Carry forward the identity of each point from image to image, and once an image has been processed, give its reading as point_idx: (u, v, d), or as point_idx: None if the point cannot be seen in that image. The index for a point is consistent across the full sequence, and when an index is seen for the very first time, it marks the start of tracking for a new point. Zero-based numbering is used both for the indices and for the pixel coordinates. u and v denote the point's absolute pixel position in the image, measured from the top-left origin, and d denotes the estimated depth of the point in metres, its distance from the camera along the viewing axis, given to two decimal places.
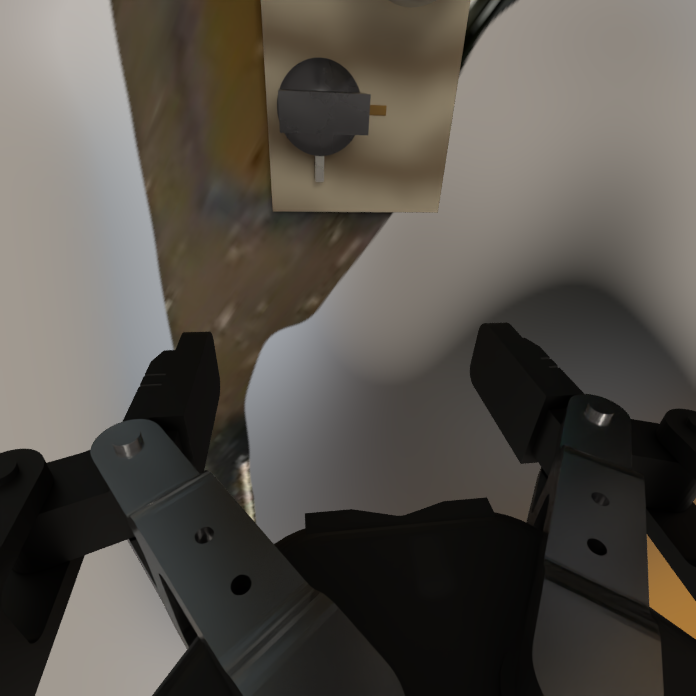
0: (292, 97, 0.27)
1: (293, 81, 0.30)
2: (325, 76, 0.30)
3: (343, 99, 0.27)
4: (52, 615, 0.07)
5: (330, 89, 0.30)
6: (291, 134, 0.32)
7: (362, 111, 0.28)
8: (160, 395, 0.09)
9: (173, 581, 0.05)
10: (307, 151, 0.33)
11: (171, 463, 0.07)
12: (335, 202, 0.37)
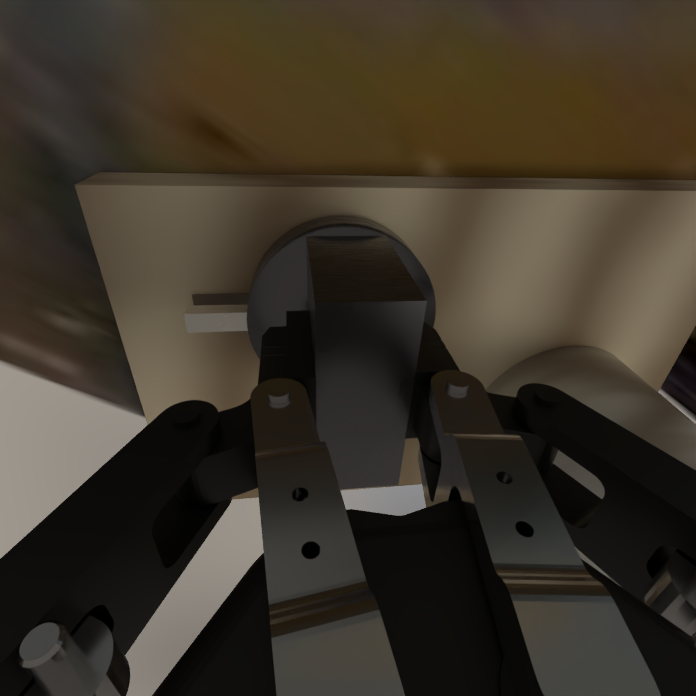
0: (406, 337, 0.09)
1: None
2: None
3: (393, 442, 0.11)
4: (187, 550, 0.08)
5: None
6: (289, 262, 0.13)
7: (365, 476, 0.12)
8: (289, 361, 0.10)
9: (263, 519, 0.06)
10: (253, 298, 0.13)
11: (303, 425, 0.08)
12: (145, 340, 0.15)
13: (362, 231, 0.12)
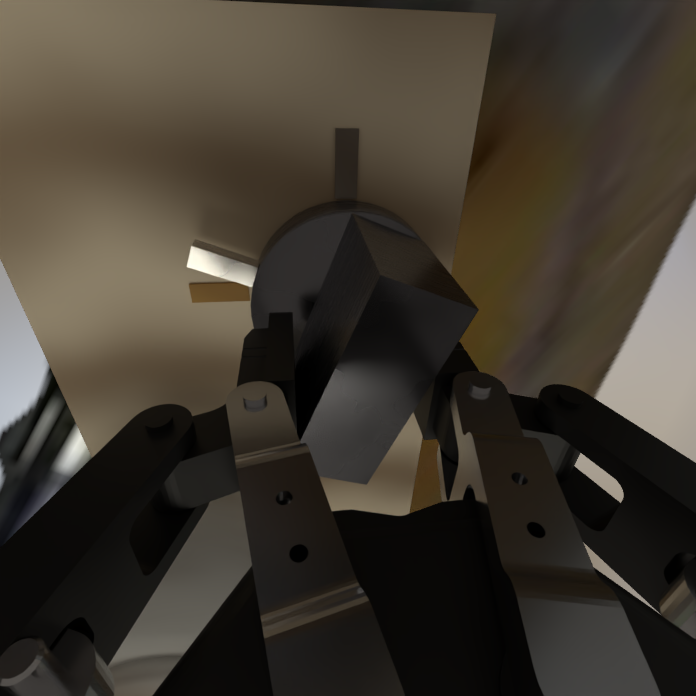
0: (444, 338, 0.09)
1: None
2: None
3: (382, 439, 0.11)
4: (166, 556, 0.08)
5: None
6: (324, 232, 0.12)
7: (340, 468, 0.11)
8: (268, 363, 0.10)
9: (248, 526, 0.06)
10: (273, 256, 0.12)
11: (282, 428, 0.08)
12: (293, 43, 0.11)
13: (405, 228, 0.12)
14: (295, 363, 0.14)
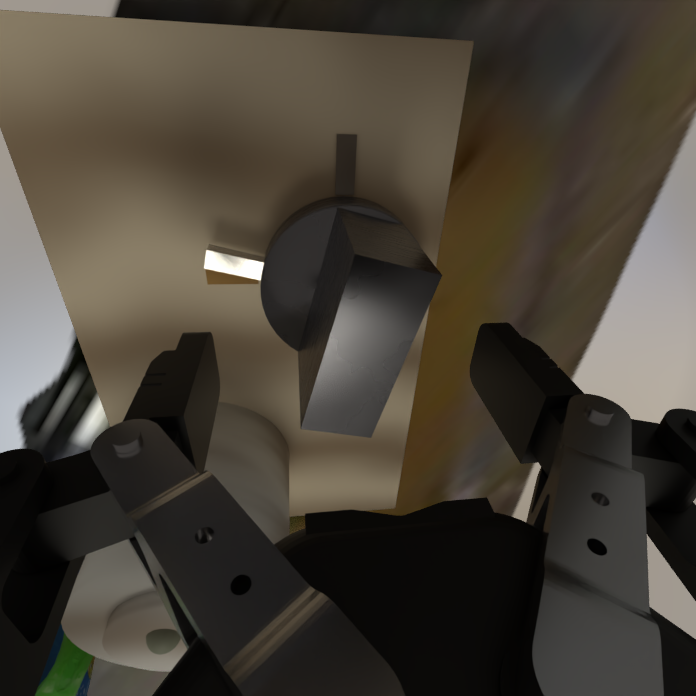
0: (417, 302, 0.11)
1: None
2: None
3: (378, 396, 0.13)
4: (52, 615, 0.07)
5: None
6: (316, 226, 0.14)
7: (346, 423, 0.13)
8: (160, 395, 0.09)
9: (173, 581, 0.05)
10: (275, 251, 0.14)
11: (171, 463, 0.07)
12: (302, 61, 0.13)
13: (385, 215, 0.14)
14: (303, 342, 0.16)
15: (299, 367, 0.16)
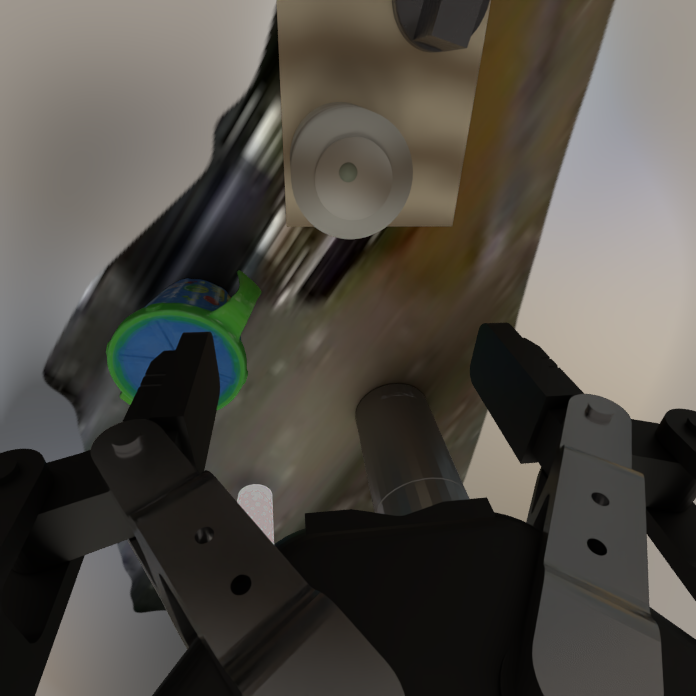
0: None
1: None
2: None
3: (474, 10, 0.24)
4: (52, 615, 0.07)
5: None
6: None
7: (455, 33, 0.25)
8: (160, 395, 0.09)
9: (173, 581, 0.05)
10: None
11: (171, 463, 0.07)
12: None
13: None
14: (420, 22, 0.27)
15: (418, 36, 0.27)
